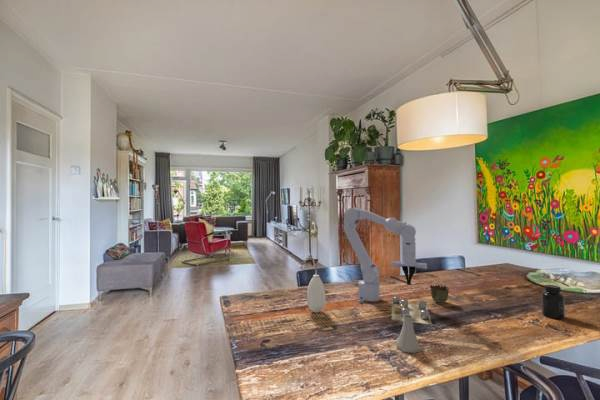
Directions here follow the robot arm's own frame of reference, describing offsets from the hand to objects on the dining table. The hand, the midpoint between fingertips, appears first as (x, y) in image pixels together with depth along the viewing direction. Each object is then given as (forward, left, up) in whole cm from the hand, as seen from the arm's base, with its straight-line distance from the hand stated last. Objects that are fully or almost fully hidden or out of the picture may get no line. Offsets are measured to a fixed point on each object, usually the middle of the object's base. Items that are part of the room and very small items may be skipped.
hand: (408, 283), depth 124 cm
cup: (+13, +6, -10) cm, 18 cm away
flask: (-2, -37, -10) cm, 38 cm away
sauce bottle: (-37, -18, -10) cm, 42 cm away
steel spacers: (0, -8, -9) cm, 12 cm away
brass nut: (-4, -10, -9) cm, 14 cm away
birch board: (0, -10, -10) cm, 14 cm away
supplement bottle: (+54, +6, -10) cm, 55 cm away
